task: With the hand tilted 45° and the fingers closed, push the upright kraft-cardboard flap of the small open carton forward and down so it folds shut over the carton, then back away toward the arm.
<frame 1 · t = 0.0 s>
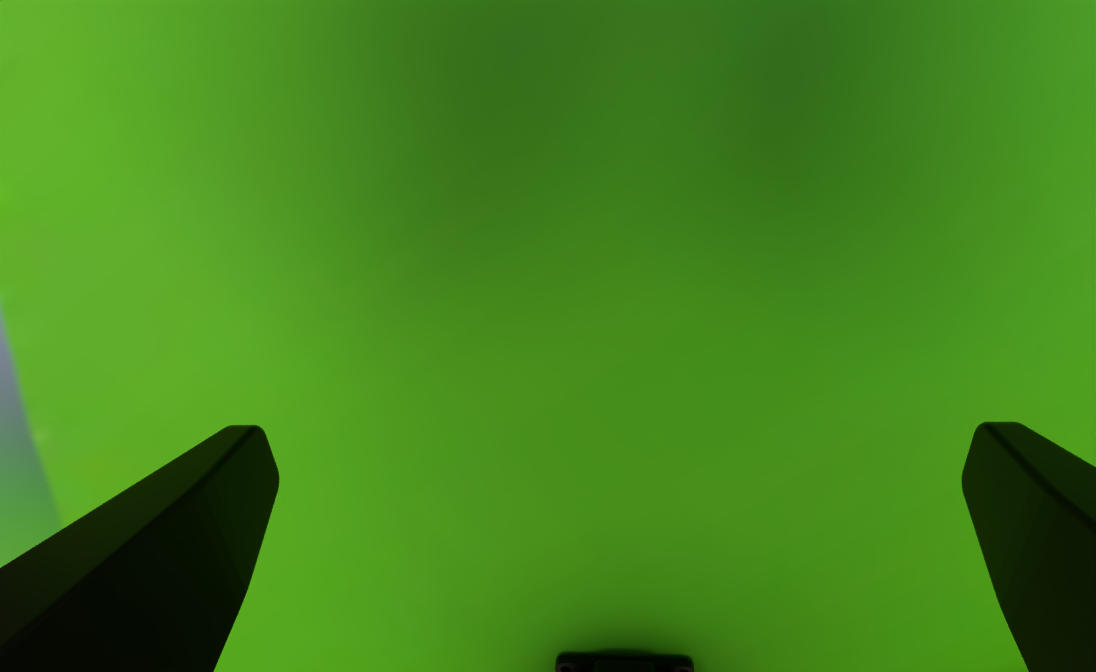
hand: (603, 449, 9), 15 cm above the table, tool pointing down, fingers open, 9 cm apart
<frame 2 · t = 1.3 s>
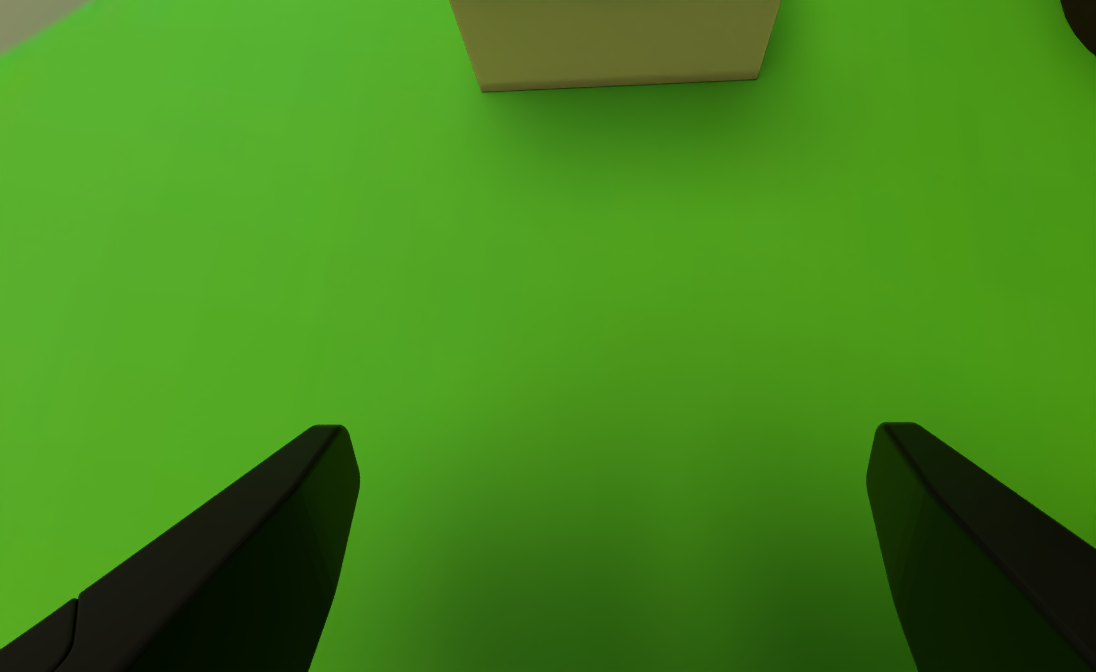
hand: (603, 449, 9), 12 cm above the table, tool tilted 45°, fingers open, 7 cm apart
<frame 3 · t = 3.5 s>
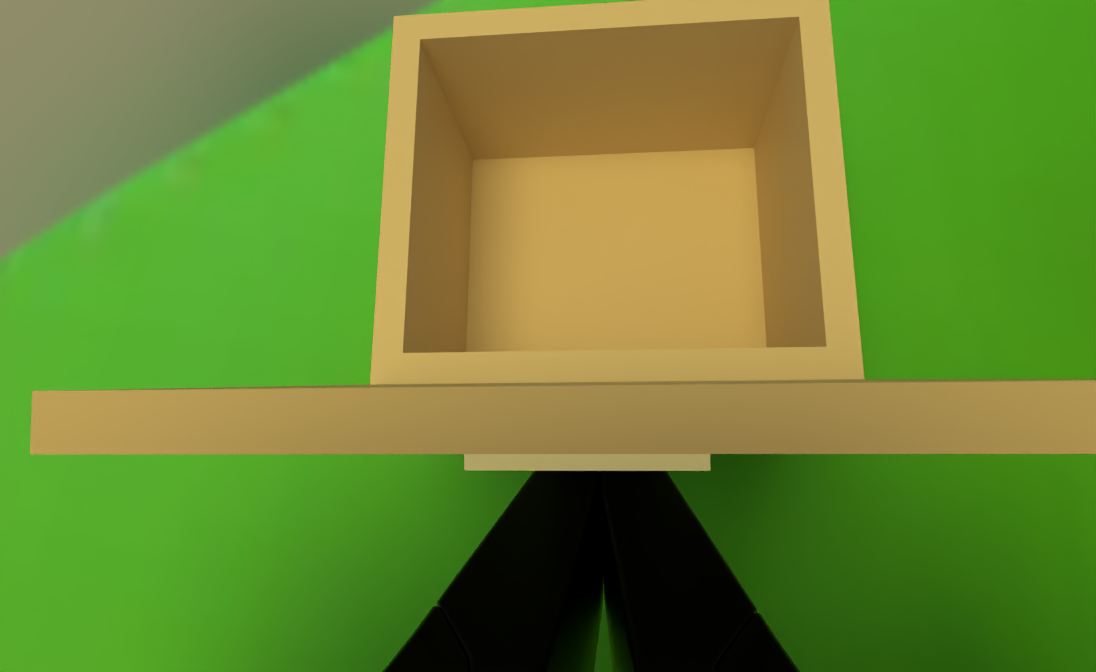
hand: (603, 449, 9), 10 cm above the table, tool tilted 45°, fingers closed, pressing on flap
flap: (601, 407, 9), point 10 cm above the table, hinge at 100.1°, touching gripper
carton: (612, 276, 20), on the table
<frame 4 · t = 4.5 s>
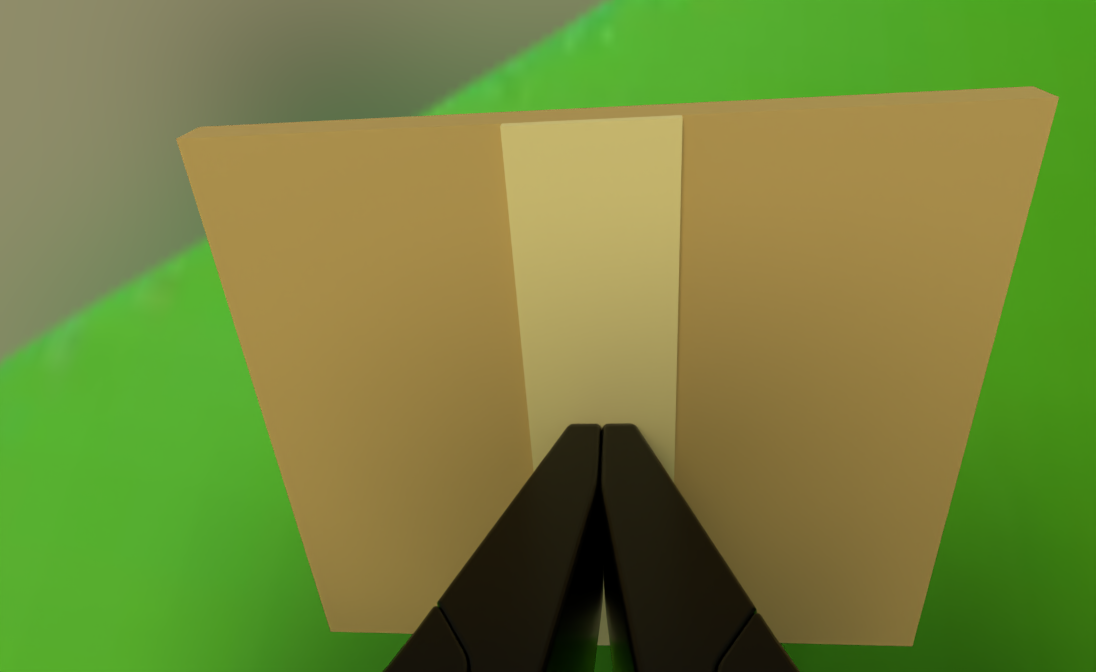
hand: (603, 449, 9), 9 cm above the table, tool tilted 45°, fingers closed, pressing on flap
flap: (602, 423, 9), point 9 cm above the table, hinge at 44.3°, touching gripper
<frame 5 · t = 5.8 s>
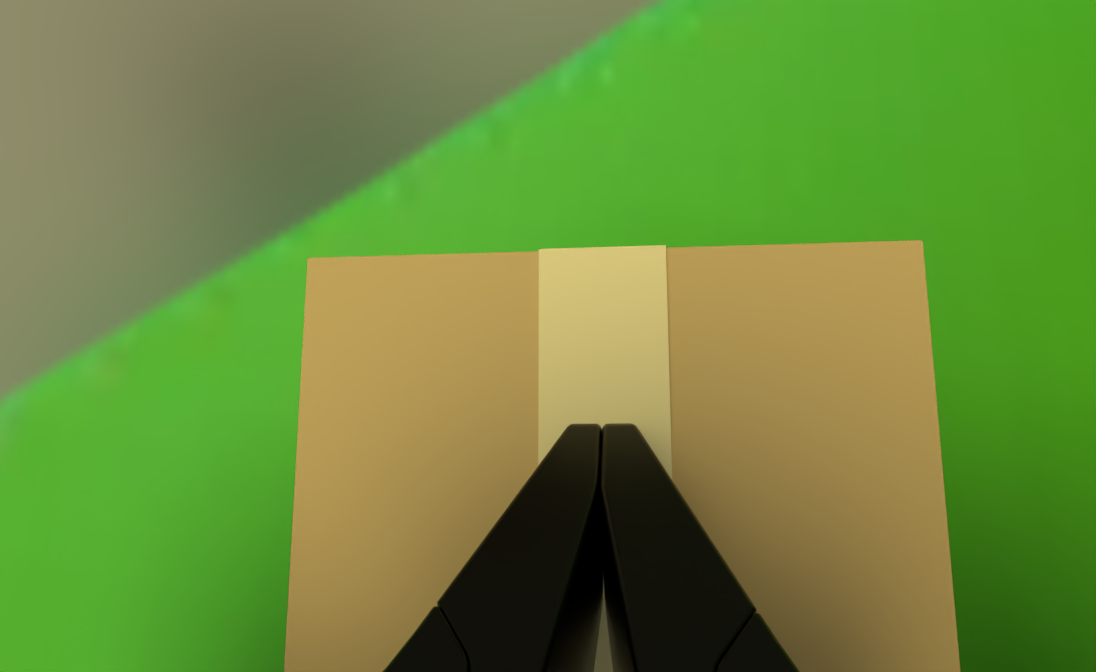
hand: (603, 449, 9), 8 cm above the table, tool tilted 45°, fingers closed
flap: (605, 527, 10), point 7 cm above the table, hinge at 3.3°
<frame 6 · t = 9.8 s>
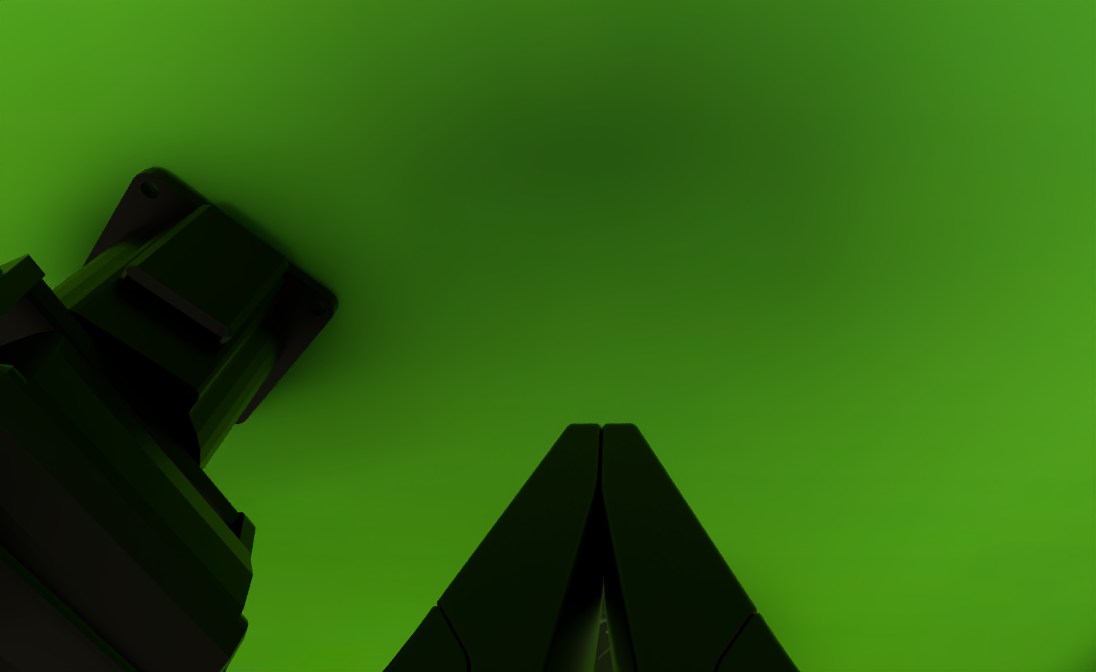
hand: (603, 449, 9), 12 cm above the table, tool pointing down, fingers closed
coffee jar: (622, 624, 30), on the table
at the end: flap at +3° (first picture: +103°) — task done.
